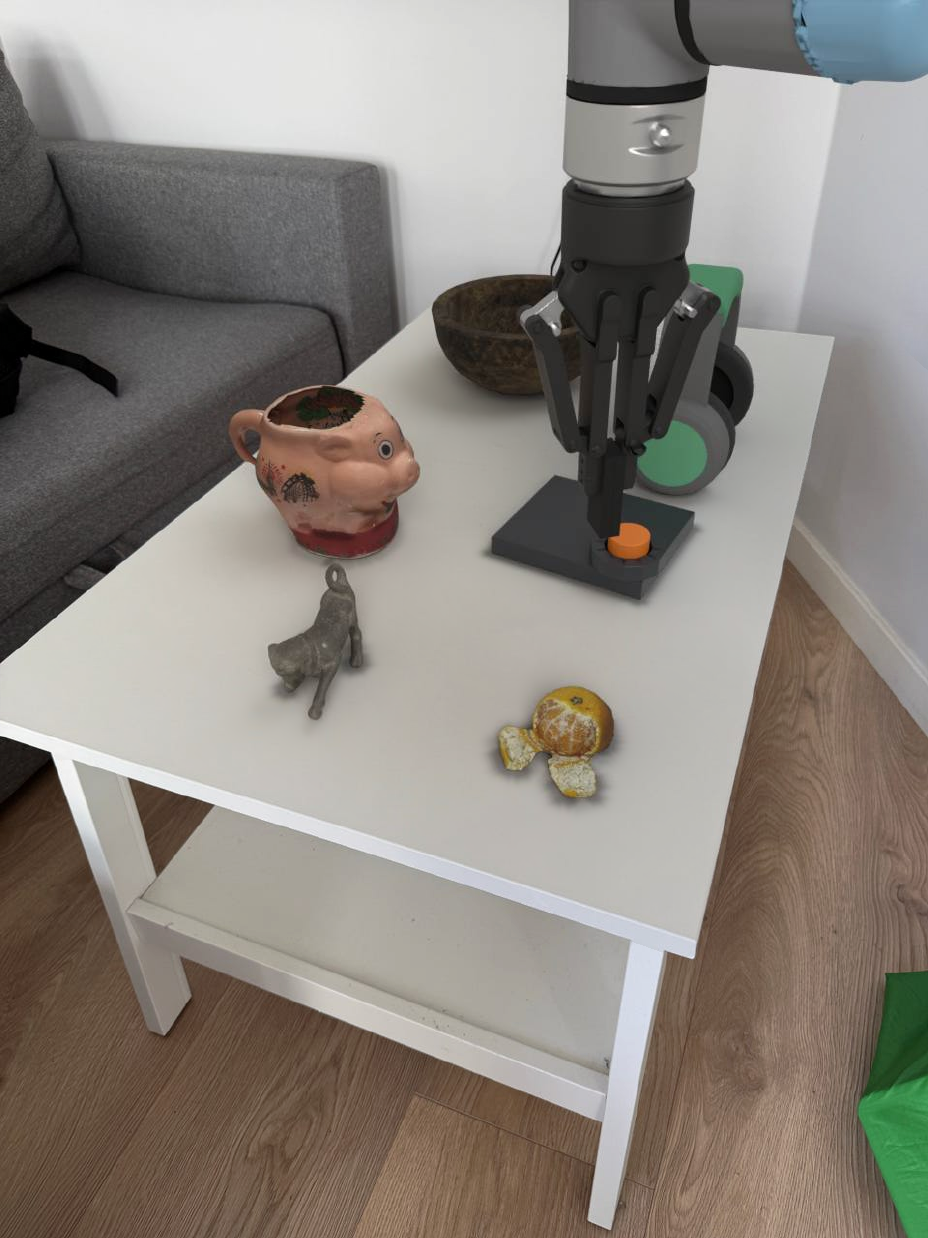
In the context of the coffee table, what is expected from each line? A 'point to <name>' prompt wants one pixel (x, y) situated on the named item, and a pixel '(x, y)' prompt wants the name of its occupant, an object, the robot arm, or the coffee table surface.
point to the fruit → (563, 738)
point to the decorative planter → (331, 467)
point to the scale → (590, 538)
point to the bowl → (499, 332)
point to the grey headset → (704, 397)
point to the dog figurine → (321, 641)
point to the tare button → (630, 542)
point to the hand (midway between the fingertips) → (602, 527)
